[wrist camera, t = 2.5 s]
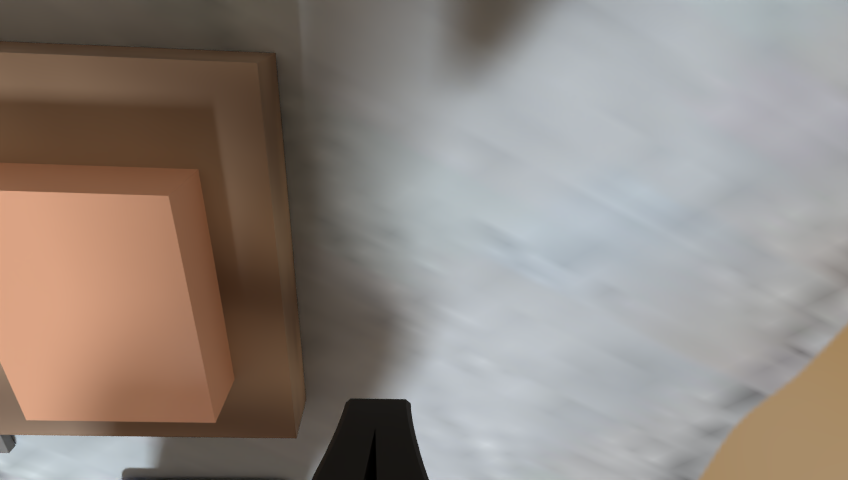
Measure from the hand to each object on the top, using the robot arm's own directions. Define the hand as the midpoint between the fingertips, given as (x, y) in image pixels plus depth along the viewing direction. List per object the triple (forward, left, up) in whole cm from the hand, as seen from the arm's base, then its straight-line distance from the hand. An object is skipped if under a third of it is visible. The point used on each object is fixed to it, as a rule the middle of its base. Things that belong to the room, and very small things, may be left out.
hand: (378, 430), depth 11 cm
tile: (0, +9, -5) cm, 10 cm away
